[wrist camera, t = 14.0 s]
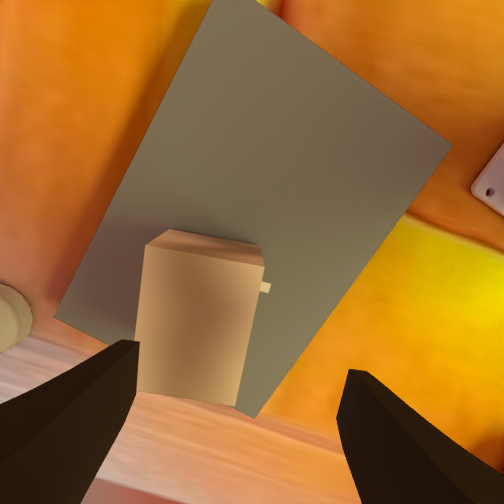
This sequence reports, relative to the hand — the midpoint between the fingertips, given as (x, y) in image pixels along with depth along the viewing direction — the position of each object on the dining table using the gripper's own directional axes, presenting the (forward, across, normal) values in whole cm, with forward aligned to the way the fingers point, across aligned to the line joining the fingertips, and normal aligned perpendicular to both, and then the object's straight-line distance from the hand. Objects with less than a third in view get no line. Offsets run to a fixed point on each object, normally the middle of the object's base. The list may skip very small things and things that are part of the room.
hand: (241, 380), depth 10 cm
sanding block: (+8, +2, 0) cm, 8 cm away
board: (+9, +1, -3) cm, 10 cm away
